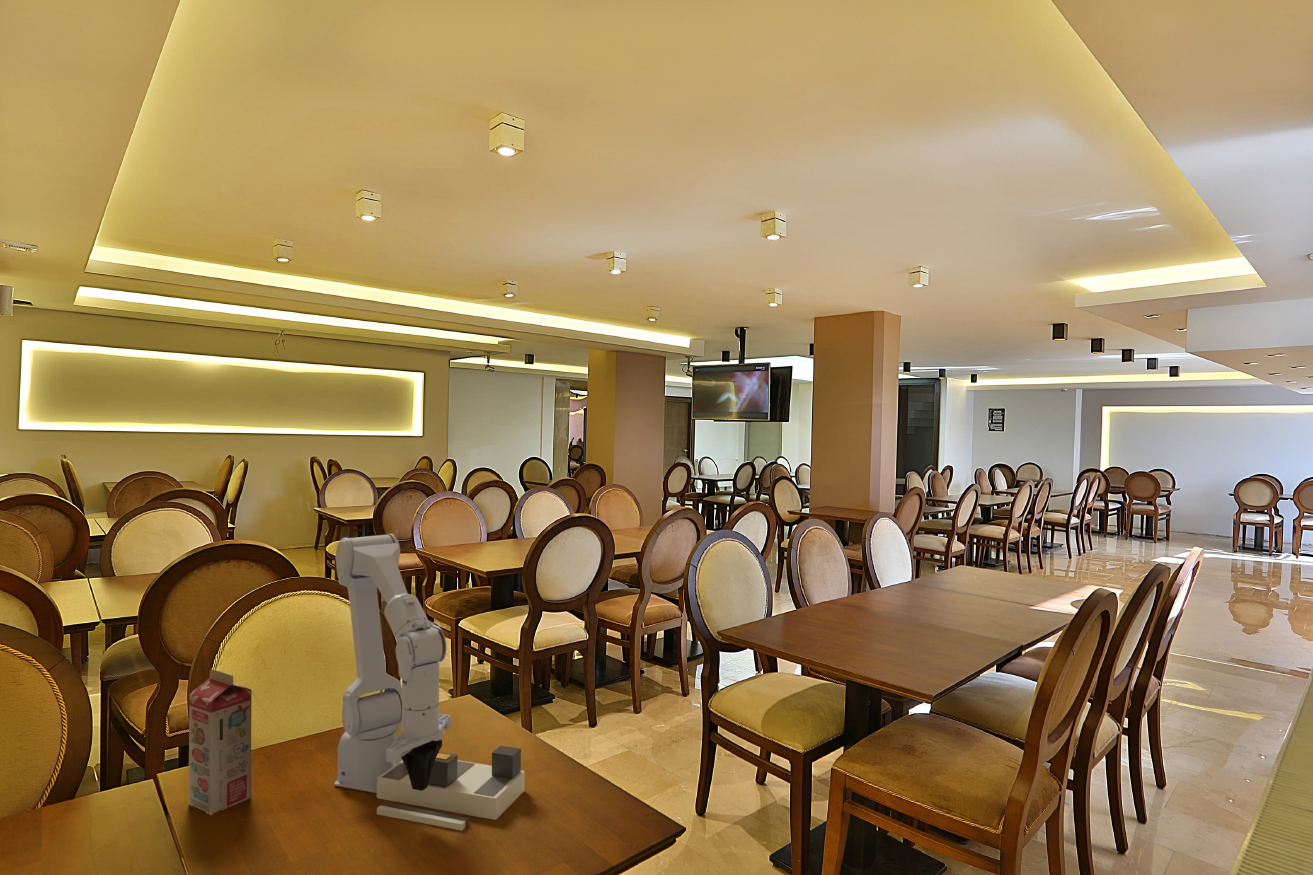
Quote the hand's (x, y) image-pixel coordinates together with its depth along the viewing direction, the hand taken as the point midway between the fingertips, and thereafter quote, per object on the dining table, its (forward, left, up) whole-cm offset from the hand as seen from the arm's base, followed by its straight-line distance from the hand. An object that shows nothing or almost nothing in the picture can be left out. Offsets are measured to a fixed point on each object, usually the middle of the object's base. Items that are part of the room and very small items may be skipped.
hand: (419, 787), depth 115 cm
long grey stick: (0, +1, -5) cm, 6 cm away
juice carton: (-36, -5, -6) cm, 37 cm away
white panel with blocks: (0, +9, -5) cm, 11 cm away
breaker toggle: (0, +6, -2) cm, 6 cm away
